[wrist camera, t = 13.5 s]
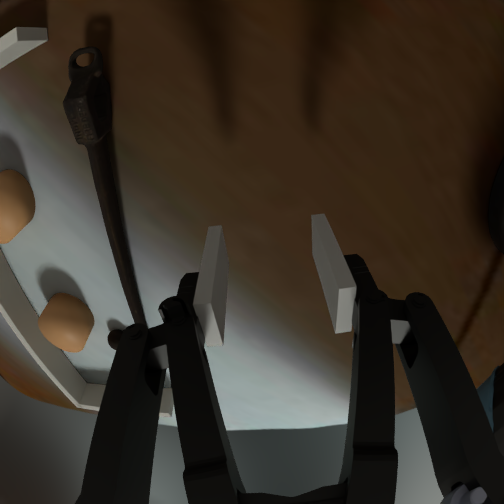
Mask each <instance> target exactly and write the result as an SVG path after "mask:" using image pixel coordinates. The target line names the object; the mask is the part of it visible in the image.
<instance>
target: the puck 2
mask: <svg viewBox="0 0 504 504" xmlns="http://www.w3.org/2000/svg"><path fill="white" fill-rule="evenodd" d="M38 326H39V329H40V331H41V333H42V334H43V335H44V337H45V338H46V339H47V340H48V341H49V342H51V343H52V344H53V345H55V346H56V347H58V348H60V349H62V350H64V351H68V352H80V351H81V350H83V348H84V346H85V344H86V341H87V339H88V337H89V335H90V332H91V330H92V328H93V326H94V317H93V314H92V312H91V311H90V309H89V308H88V307H87V306H86V305H85V304H84V303H83V302H82V301H81V300H79V299H78V298H76V297H74V296H72V295H70V294H66V293H57V294H55V295H53V296H52V298H51V299H50V301H49V302H48V304H47V305H46V307H45V309H44V310H43V312H42V314H41V315H40V317H39V319H38Z"/></svg>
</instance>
